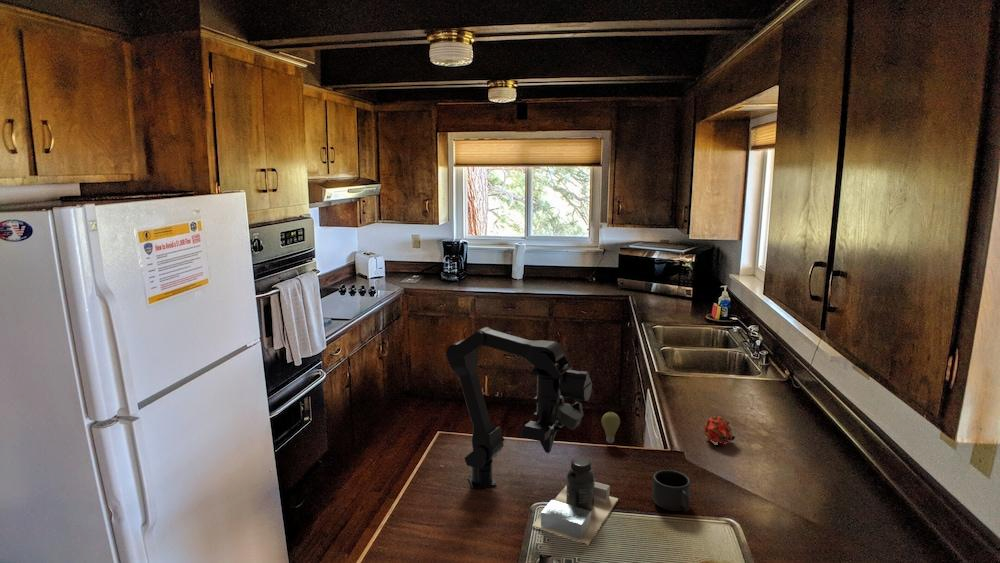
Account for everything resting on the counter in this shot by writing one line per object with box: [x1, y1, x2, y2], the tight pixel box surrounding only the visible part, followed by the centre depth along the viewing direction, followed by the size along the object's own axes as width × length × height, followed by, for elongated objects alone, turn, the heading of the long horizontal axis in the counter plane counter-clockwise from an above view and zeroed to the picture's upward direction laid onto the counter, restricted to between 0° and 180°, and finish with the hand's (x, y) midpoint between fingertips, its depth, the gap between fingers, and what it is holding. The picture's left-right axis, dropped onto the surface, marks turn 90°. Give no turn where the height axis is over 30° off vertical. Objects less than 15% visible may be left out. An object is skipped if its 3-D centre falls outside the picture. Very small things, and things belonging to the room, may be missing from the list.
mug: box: [651, 469, 692, 512], centre depth 141 cm, size 12×9×7 cm
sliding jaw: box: [540, 499, 591, 538], centre depth 133 cm, size 6×10×4 cm, turn 61°
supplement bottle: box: [566, 456, 596, 511], centre depth 140 cm, size 7×7×12 cm
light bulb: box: [601, 411, 621, 444], centre depth 176 cm, size 6×6×10 cm
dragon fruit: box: [703, 415, 736, 445], centre depth 177 cm, size 8×8×12 cm
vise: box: [531, 481, 619, 546], centre depth 139 cm, size 21×14×4 cm, turn 151°
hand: (547, 452), depth 143 cm, fingers closed
